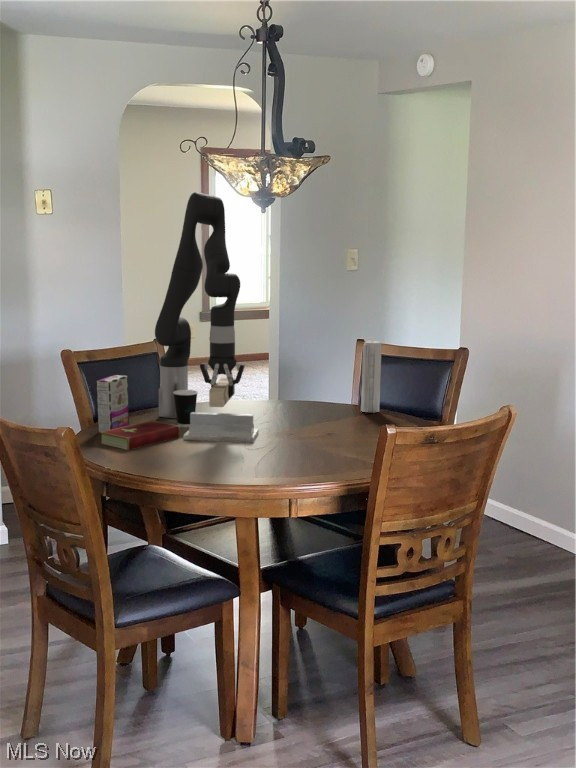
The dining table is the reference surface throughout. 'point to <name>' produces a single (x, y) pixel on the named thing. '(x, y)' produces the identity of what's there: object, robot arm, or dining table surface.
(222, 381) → the beech batten
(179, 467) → the dining table surface
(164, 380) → the robot arm
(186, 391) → the dixie cup
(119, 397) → the candy bar box
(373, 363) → the air filter
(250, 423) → the ridge
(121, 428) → the hardcover book
